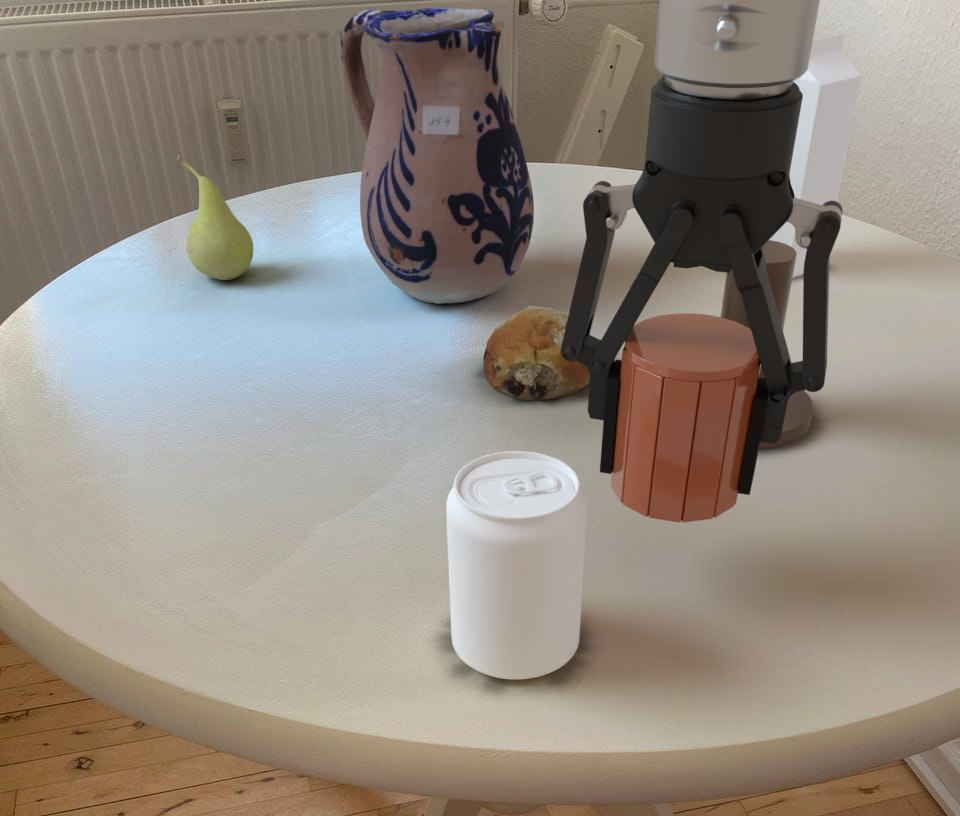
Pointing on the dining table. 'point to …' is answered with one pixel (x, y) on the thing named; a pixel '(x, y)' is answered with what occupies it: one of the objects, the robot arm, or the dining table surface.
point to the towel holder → (780, 278)
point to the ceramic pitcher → (439, 153)
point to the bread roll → (532, 357)
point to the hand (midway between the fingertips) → (676, 472)
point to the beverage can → (516, 563)
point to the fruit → (217, 235)
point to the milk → (821, 131)
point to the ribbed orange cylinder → (683, 415)
